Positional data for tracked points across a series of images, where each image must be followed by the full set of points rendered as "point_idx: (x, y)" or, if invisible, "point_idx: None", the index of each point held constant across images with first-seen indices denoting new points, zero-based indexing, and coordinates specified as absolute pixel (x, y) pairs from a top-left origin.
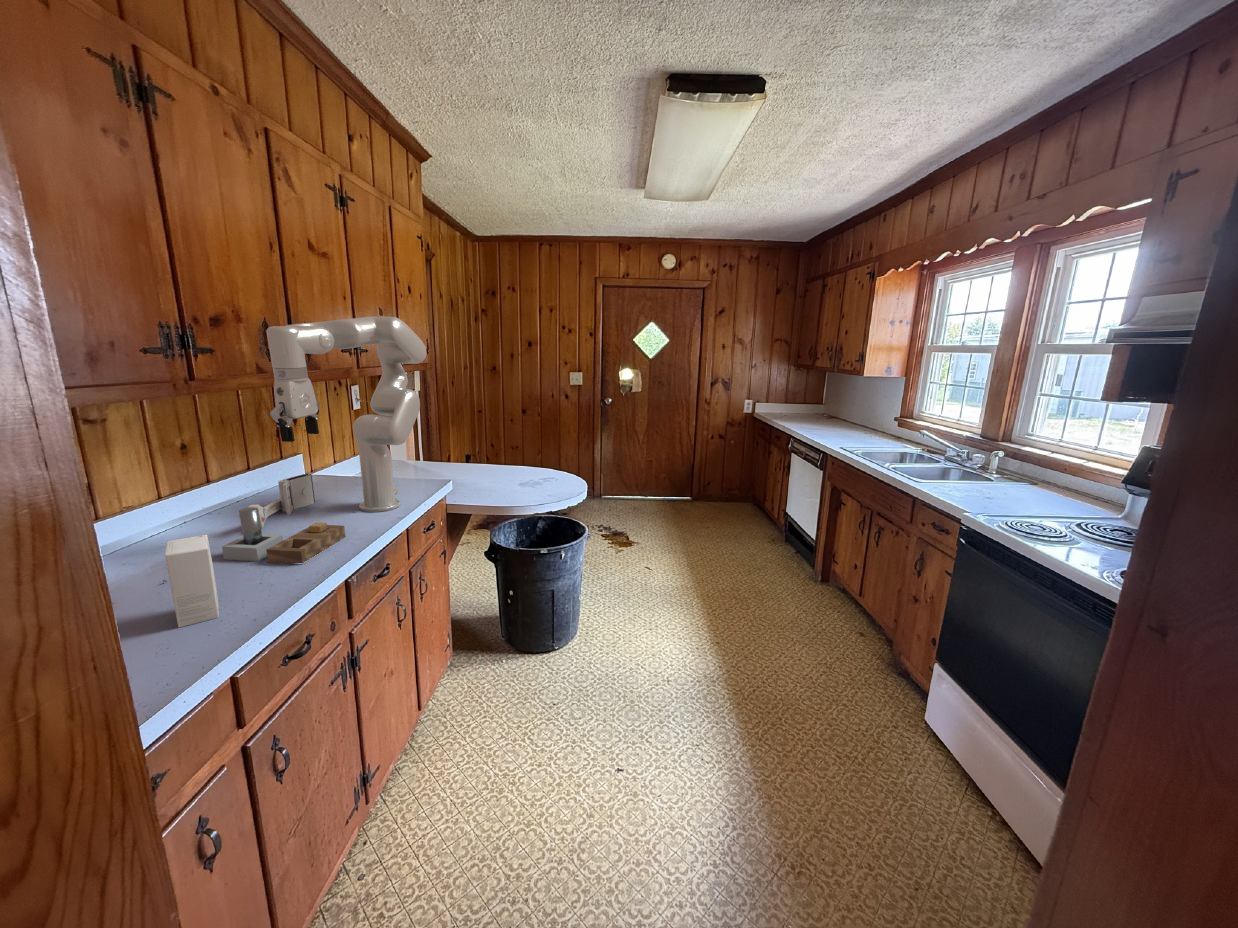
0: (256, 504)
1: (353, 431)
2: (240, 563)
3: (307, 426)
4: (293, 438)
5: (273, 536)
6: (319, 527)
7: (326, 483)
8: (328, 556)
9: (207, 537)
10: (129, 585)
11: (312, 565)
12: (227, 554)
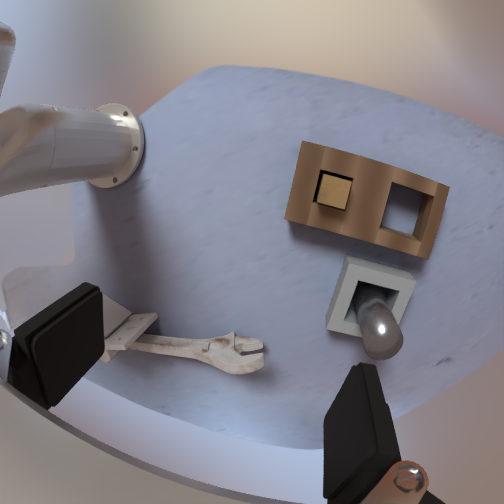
0: (226, 365)
1: None
2: (411, 296)
3: (75, 372)
4: (371, 375)
5: (356, 277)
6: (350, 182)
7: (25, 299)
8: (409, 146)
9: None
10: (437, 389)
11: (445, 164)
12: None
